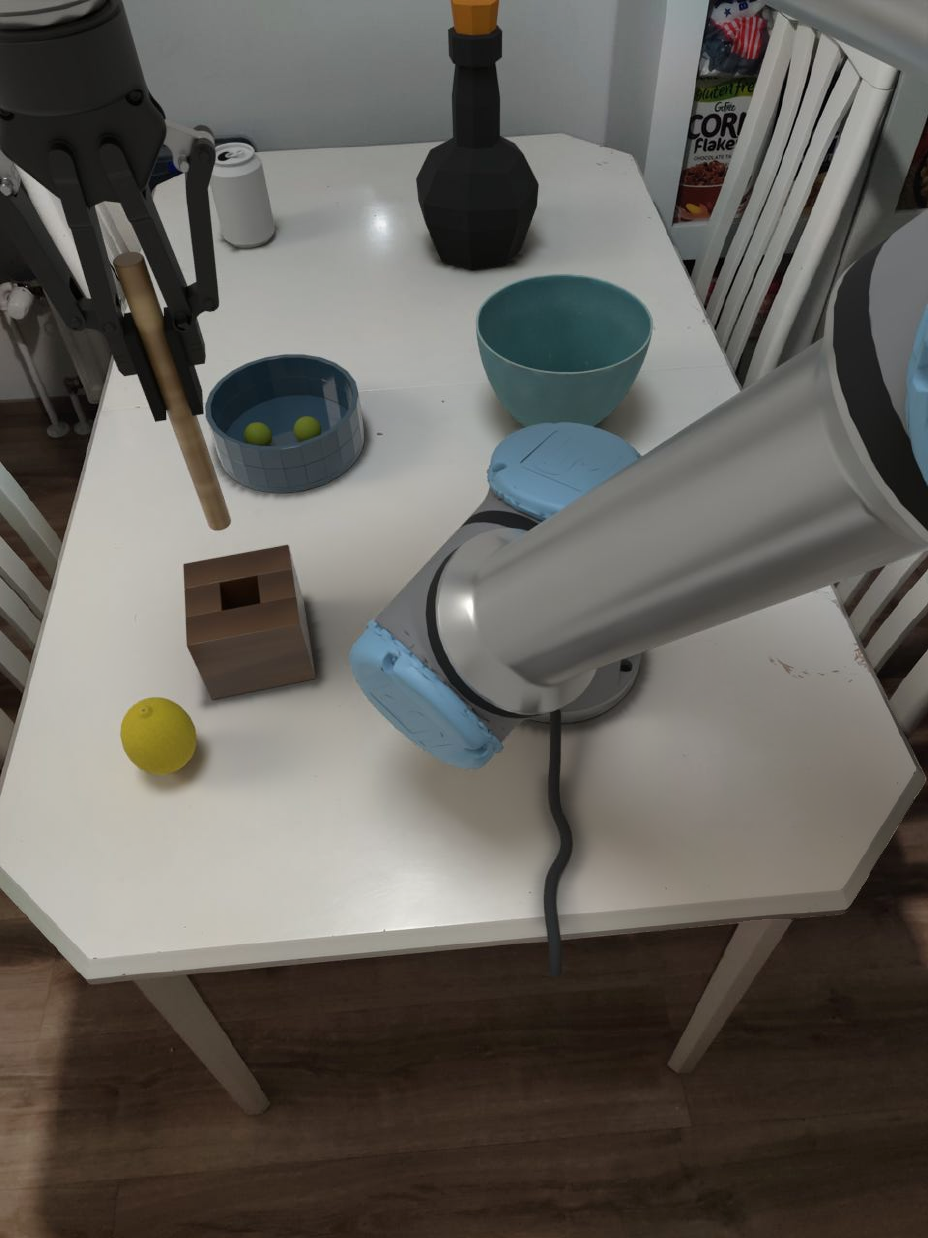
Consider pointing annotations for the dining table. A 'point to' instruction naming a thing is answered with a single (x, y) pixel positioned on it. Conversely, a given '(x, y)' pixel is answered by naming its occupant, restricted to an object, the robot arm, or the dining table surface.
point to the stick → (171, 385)
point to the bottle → (476, 156)
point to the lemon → (158, 735)
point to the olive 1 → (258, 434)
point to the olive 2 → (306, 428)
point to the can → (241, 196)
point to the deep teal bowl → (562, 347)
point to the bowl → (286, 422)
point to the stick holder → (247, 622)
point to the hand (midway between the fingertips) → (179, 405)
